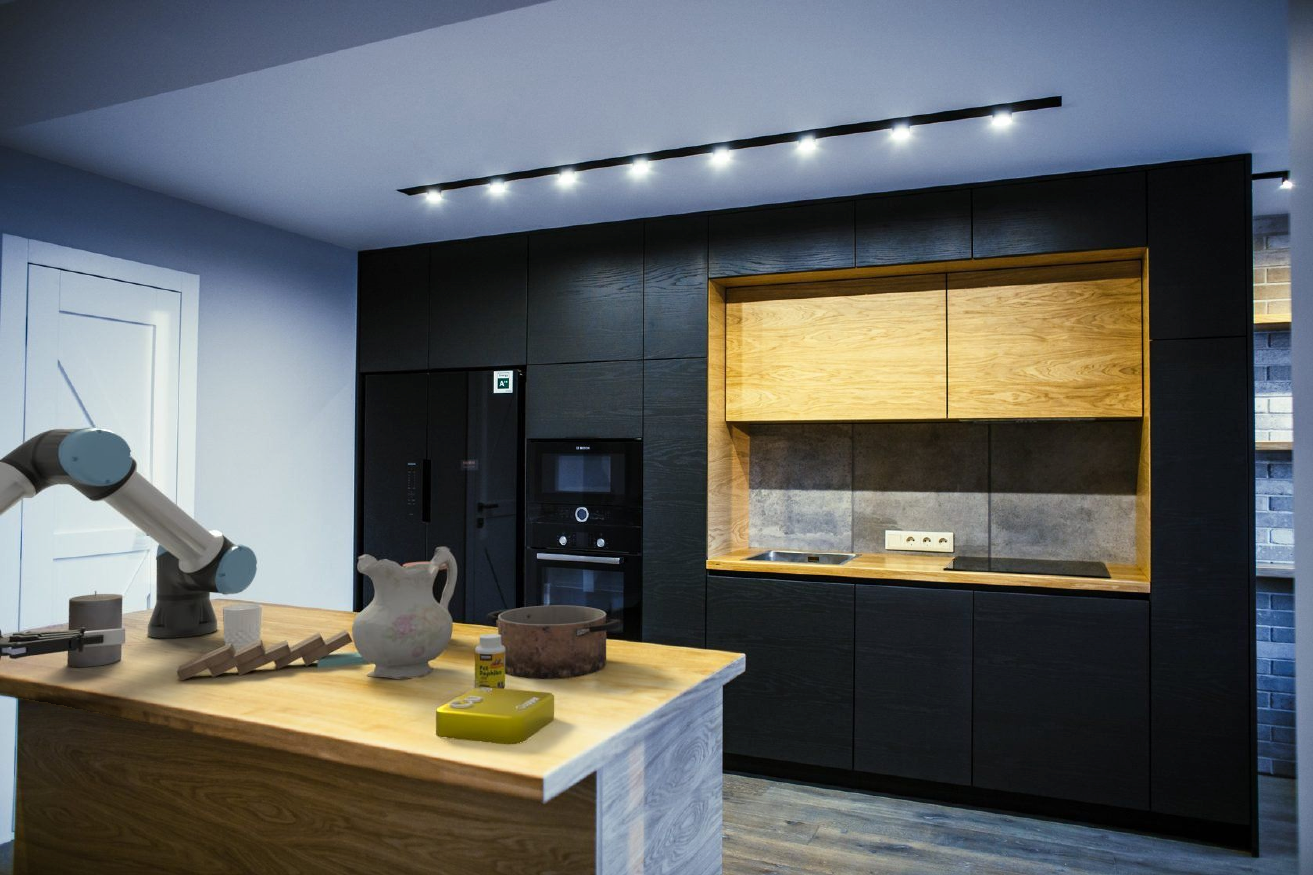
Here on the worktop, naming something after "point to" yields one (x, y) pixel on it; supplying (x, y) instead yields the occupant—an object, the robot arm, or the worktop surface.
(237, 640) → the white cup
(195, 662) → the domino
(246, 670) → the domino
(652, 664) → the worktop surface
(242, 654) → the domino
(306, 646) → the domino
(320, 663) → the domino
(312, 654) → the domino
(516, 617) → the cooking pot
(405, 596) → the ceramic pitcher
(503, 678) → the supplement bottle
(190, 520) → the robot arm
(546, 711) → the element tile
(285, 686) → the worktop surface
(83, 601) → the pillar candle
